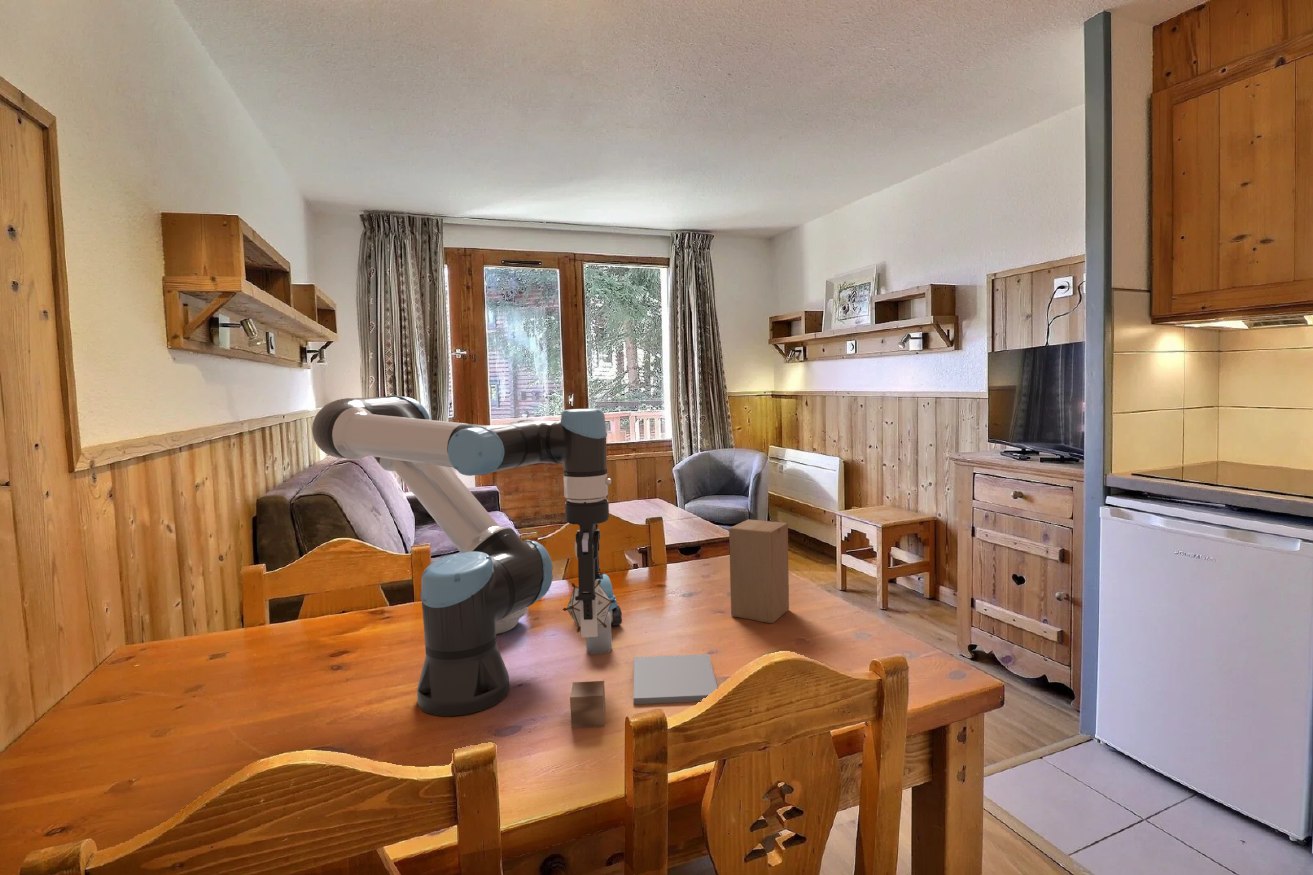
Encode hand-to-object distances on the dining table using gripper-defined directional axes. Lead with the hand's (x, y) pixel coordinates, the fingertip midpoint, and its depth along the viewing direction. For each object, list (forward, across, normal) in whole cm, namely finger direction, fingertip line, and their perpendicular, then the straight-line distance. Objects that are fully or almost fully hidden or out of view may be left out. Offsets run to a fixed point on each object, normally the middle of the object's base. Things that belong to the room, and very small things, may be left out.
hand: (591, 625), depth 115 cm
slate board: (+10, -1, -14) cm, 17 cm away
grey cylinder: (+10, +14, 0) cm, 17 cm away
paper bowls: (+11, +28, +24) cm, 38 cm away
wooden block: (+10, +30, -35) cm, 47 cm away
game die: (+1, 0, 0) cm, 1 cm away
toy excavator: (+10, +31, +2) cm, 33 cm away
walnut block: (+10, -13, 0) cm, 17 cm away
